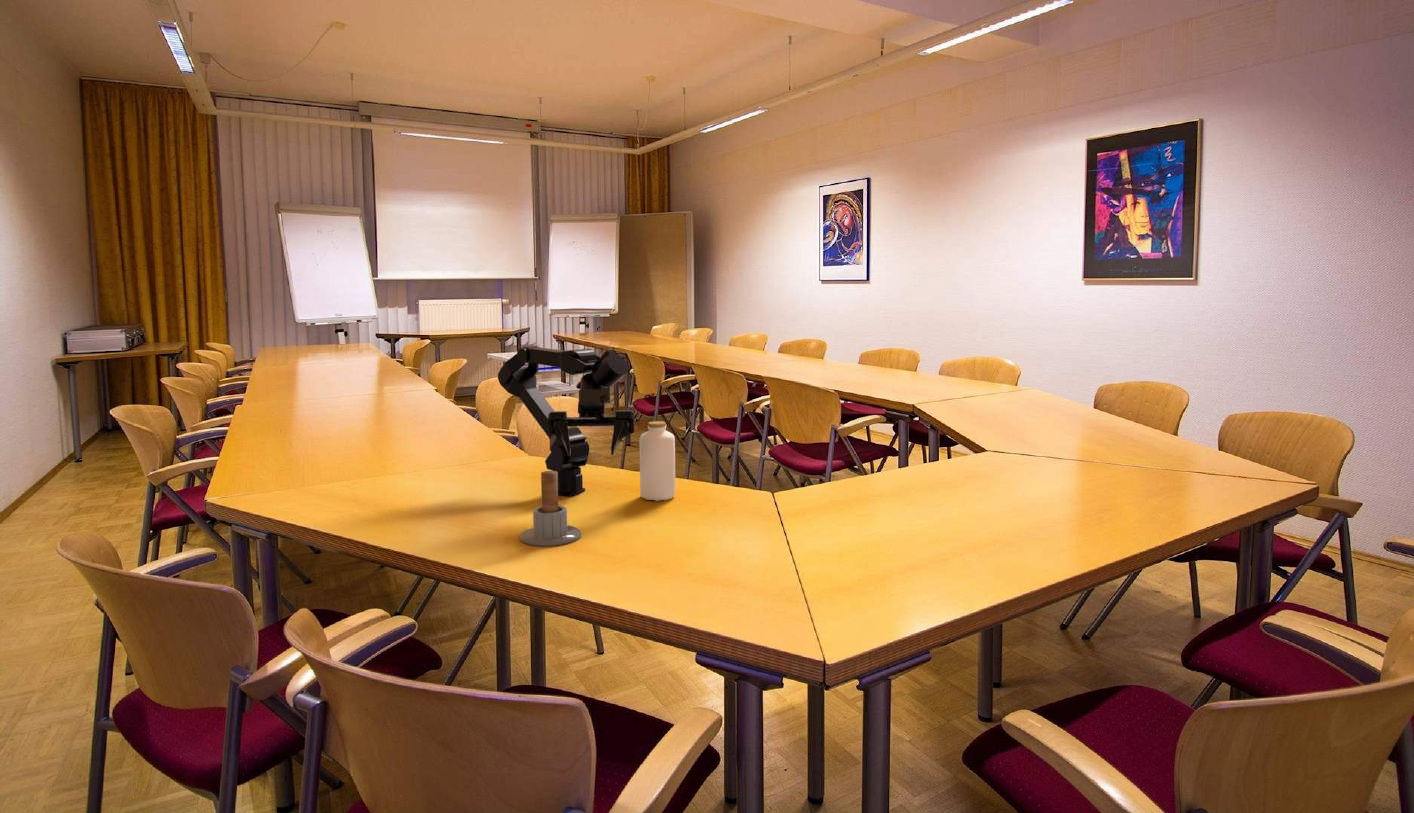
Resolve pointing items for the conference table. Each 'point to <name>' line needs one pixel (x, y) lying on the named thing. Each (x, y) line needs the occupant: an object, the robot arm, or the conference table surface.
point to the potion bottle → (657, 463)
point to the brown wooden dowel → (549, 491)
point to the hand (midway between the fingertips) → (590, 454)
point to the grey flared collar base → (550, 529)
